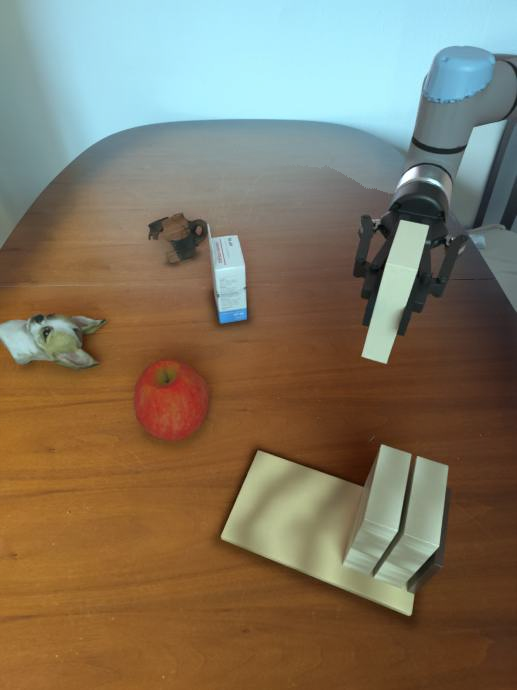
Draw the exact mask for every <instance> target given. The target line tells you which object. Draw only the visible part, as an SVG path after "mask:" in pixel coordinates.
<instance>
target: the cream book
mask: <svg viewBox="0 0 517 690" xmlns="http://www.w3.org/2000/svg"><path fill="white" fill-rule="evenodd" d="M428 230H429V226H428V225H424V224H419V223H414V222H409V221H404V220H400V222H399V225H398V229H397V232H396V235H395V238H394V241H393V244H392V247H391V250H390V253H389V256H388V259H387V262H386V265H385V269H384V273H383V276H382V280H381V284H380V288H379V292H378V295H377V300H376V303H375V307H374V311H373V315H372V318H371V321H370V324H369V327H368V330H367V332H366V333H367V334H366V337H365V342H364V345H363V349H362V353H361V358H365V359H368V360H371V361H375V362H379V363H381V364H388V360H389V357H390V355H391V351H392V349H393V345H394V343H395V339H396V337H397V332H398V328H399V324H400V321H401V318H402V315H403V312H404V309H405V306H406V304H407V301H408V298H409V295H410V292H411V289H412V286H413V283H414V280H415V277H416V274H417V271H418V267H419V263H420V259H421V255H422V252H423V248H424V244H425V240H426V236H427V233H428Z"/></svg>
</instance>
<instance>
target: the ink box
mask: <svg viewBox="0 0 517 690" xmlns="http://www.w3.org/2000/svg"><path fill="white" fill-rule="evenodd" d="M207 227H208V235H207V238H208V246H209V247H208V248H209V256H210V257H209V258H210V265H211V275H212V285H213V294H214V299H215V305H216V311H217V315H218V321H219V324H228V323H234V322H239V321H247V320H248V309H247V308H248V307H247V280H246V278H247V277H246V276H247V275H246V263H245V258H244V255H243V251H242V246H241V244H240V239H239V238H238V235H237V234H234V235H225V236H223V235H222V236H216V237H212V233H211V228H210V223H207Z"/></svg>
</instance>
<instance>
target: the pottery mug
mask: <svg viewBox="0 0 517 690" xmlns="http://www.w3.org/2000/svg"><path fill="white" fill-rule="evenodd" d="M207 224H208V223H207V222H206V221H205V220H203V219H201V218H198V219H194V220H190V219H188V218H186V217H185V214H184V212H178V213H175V214H173V215H172V216H170V217H169V216H165V217H163V218H160V219H157V220H154V221H152V222H150V223H148V224H147V226H148V229H149V231H148V235H147V236H148V237H147V239H148V241H151V239H152V240H154V241H158V240H159V235H160V233H162V236H163V238H164V240H166V241H167V242H170V245H172V247H173V249H172V250H171V251H169V252H166V253H165V256H166V257H167V259H168V262H169V263H170V264H173V263H174V264H175V263H178V262H180V261H181V262H182V261H184V260H187V259H191V258H192V257H194V256H196V254H197V253H196V252H197V251H196V247H199V246H200V244H201V243H202V242H203V241H205V240H206V239H207V238H208V227H207ZM198 227H200V228H201V232H200V234H198V233H197V229H198ZM188 230H189V231H188Z"/></svg>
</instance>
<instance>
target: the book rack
mask: <svg viewBox="0 0 517 690" xmlns="http://www.w3.org/2000/svg"><path fill="white" fill-rule="evenodd" d="M412 456H413V455H412V453H410V452H407V451H404V450H401V449H398V448H394V447H392V446H388V445H386V444H382V443H381V444H380V446H379V449H378V451H377V453H376V456H375V458H374V461H373V464H372V466H371V468H370V471H369V473H368V476H367V478H366V480H365V482H364V485H363V486H362V485H359V484H356V483H353V482H350V481H347V480H344V479H342V478H339V477H336V476H333V475H330V474H328V473H325V472H322V471H319V470H316V469H314V468H310V467H308V466H305V465H302V464H299V463H296V462H294V461H290V460H287V459H284V458H282V457H279V456H276V455H274V454H270V453H268V452H264V451H262V450H259V449H258V450H257V451H256V454H255V455H254V458H253V460H252V462H251V465H250V467H249V469H248V471H247V475H246V477H245V479H244V481H243V483H242V486H241V488H240V491H239V493H238V495H237V497H236V499H235V502H234V504H233V507H232V509H231V512H230V513H229V516H228V518H227V521H226V523H225V525H224V528H223V530H222V532H221V534H220V539H221V540H222V541H224V542H228V543H230V544H232V545H235V546H236V547H240V548H242V549H244V550H247V551H249V552H252V553H254V554H256V555H259V556H262V557H264V558H266V559H269V560H271V561H274V562H276V563H278V564H282V565H283V566H285V567H288V568H290V569H293V570H296V571H298V572H301V573H302V574H305V575H308V576H310V577H312V578H315V579H317V580H320V581H322V582H324V583H327V584H329V585H331V586H335V587H337V588H339V589H342V590H344V591H346V592H349V593H352V594H354V595H356V596H359V597H361V598H364V599H366V600H369V601H370V602H373V603H376V604H378V605H381V606H383V607H385V608H388V609H390V610H393V611H396V612H397V613H401V614H402V615H405V616H408V617H410V616H412V615H413V607H414V600H415V595H416V594H417V593H418V592H419V591H420V590H421V589H422V588H423V587H424V586H425V585H426V584H427V583H428V582H429V581H431V579H432V578H434V576H436V575H437V574H438V573H439V572H440V571H441V570H442V569H443V568H444V562H445V552H446V544H447V543H446V542H447V533H448V525H449V516H450V505H451V499H452V498H451V497H452V488H450V487H447V484H448V476H449V475H448V473H449V465H447V464H444V463H441V462H438V461H434V460H433V459H432V460H431V459H429V458H426V457H422V456H420V455H417V456H416V457H415V459H414V461H413V463H412V464H411V460H412Z"/></svg>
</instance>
